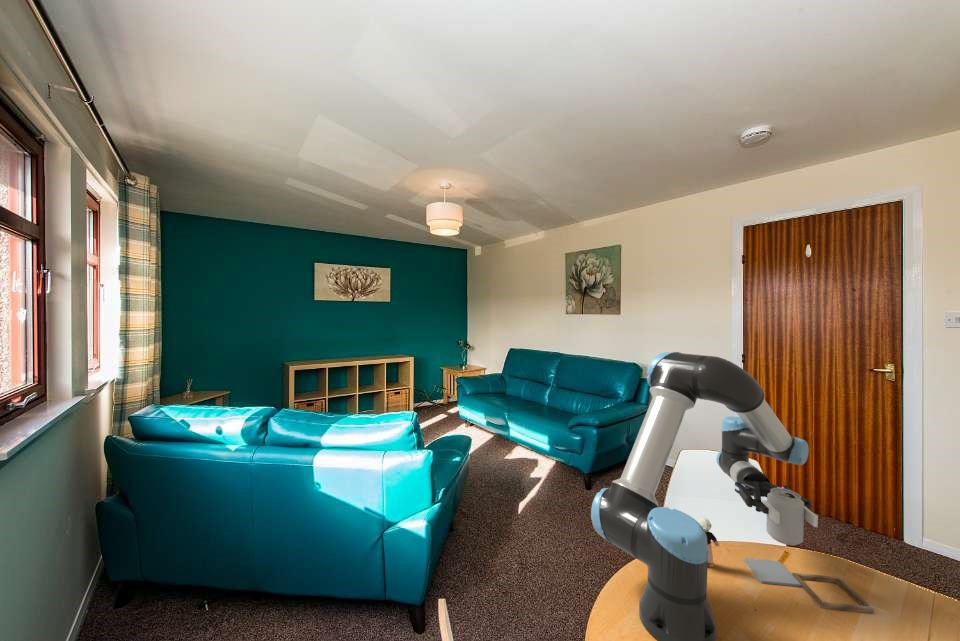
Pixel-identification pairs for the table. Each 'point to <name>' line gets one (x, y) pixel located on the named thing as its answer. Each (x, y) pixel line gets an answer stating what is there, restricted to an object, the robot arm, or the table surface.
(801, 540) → the can
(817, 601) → the brown square frame
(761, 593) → the table surface
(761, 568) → the coaster
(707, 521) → the grandmother figurine
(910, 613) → the table surface
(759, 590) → the table surface
